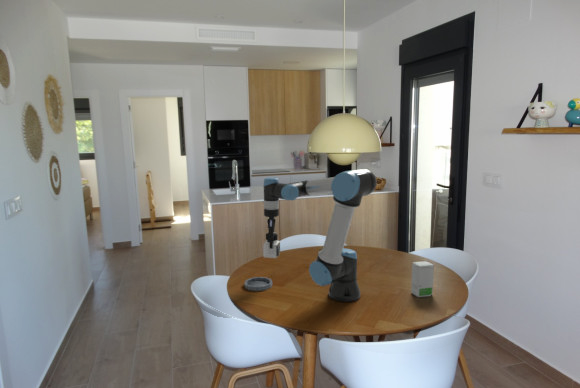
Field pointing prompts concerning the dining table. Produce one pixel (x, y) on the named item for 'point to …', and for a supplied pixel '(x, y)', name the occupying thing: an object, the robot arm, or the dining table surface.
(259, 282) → the dish
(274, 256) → the medicine bottle
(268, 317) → the dining table surface
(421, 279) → the skincare box
